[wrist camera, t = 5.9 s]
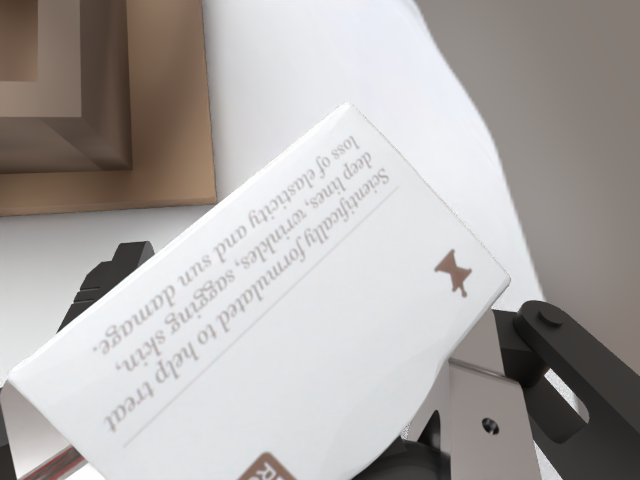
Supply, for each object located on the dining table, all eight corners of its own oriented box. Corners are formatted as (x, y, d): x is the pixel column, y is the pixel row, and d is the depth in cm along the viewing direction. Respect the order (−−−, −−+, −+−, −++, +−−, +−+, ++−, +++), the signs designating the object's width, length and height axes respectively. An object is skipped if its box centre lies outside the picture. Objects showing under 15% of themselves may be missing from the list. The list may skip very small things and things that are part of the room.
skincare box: (280, 224, 17) (349, 62, 5) (336, 285, 17) (533, 270, 5) (185, 305, 15) (-48, 356, 3) (248, 373, 15) (242, 655, 3)
